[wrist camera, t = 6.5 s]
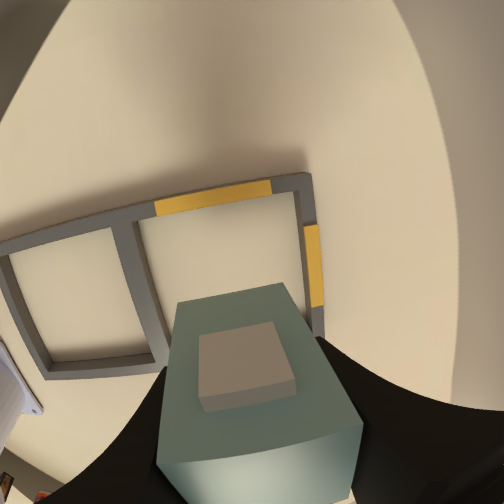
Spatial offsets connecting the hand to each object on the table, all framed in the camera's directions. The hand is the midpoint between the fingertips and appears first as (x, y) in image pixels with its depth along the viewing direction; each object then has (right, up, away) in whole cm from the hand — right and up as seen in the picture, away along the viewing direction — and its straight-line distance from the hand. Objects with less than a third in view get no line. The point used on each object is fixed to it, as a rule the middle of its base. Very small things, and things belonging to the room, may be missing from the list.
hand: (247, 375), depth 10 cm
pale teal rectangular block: (0, +1, +2) cm, 2 cm away
